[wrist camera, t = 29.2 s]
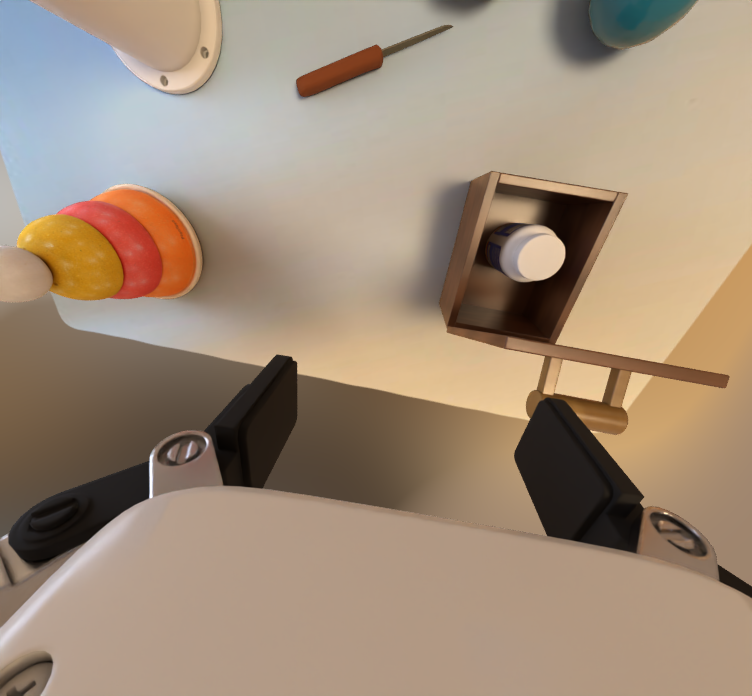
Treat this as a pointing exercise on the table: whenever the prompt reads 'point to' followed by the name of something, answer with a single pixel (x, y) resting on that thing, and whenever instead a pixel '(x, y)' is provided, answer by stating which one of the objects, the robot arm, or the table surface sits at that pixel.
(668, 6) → the ball
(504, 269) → the pill bottle
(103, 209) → the stacking toy
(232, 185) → the table surface
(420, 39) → the brown screwdriver
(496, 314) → the chest
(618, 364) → the lid
